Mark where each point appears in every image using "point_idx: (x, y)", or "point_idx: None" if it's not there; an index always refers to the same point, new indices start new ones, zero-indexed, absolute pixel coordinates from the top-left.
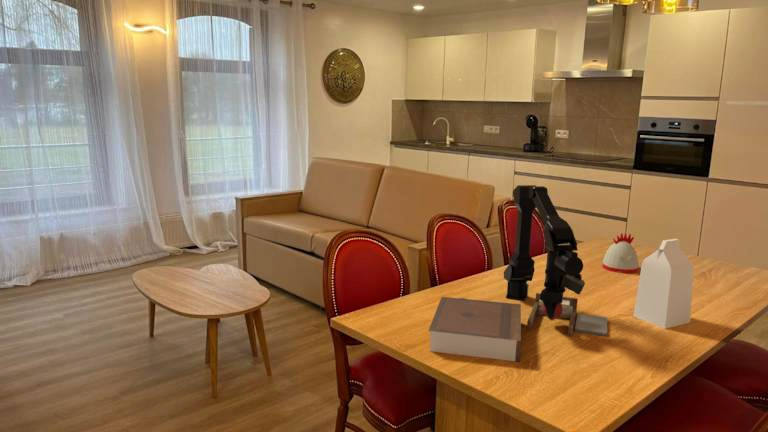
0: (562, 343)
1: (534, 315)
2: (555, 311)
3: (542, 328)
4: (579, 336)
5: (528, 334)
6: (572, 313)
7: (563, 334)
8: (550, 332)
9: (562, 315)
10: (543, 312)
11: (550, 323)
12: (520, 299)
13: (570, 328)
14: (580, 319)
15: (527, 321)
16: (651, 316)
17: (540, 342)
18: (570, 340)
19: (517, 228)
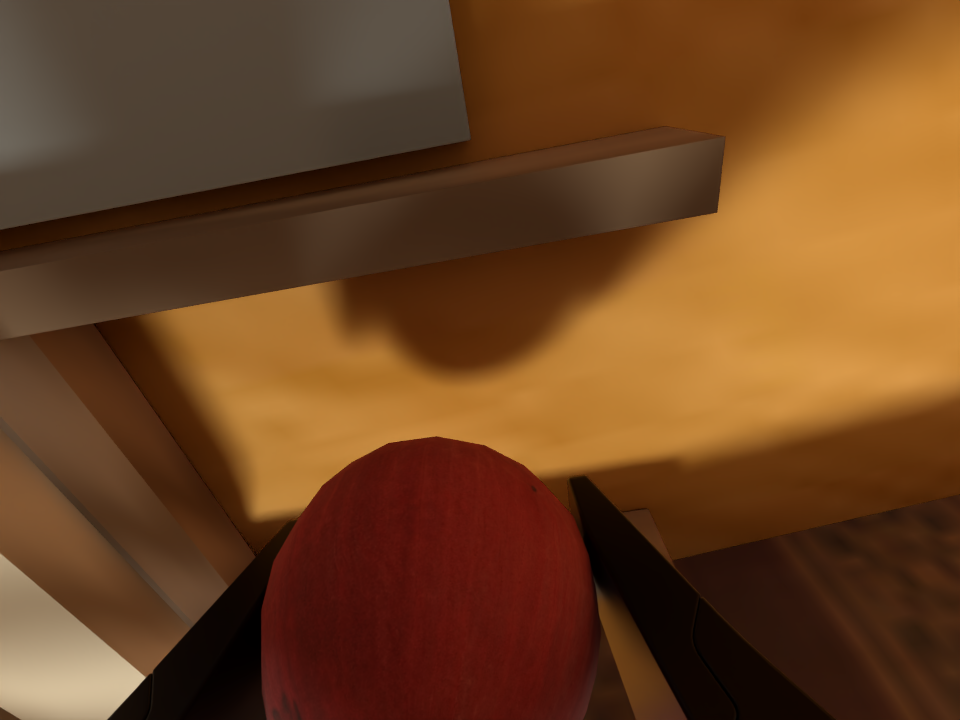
0: (955, 175)
1: None
2: (576, 550)
3: (574, 451)
4: (633, 6)
5: (766, 493)
6: (27, 317)
7: (648, 241)
8: (646, 371)
9: (116, 404)
10: (223, 551)
11: (397, 432)
12: None
13: (719, 173)
14: (1, 160)
15: None
16: None
17: (944, 376)
18: (833, 102)
19: None
